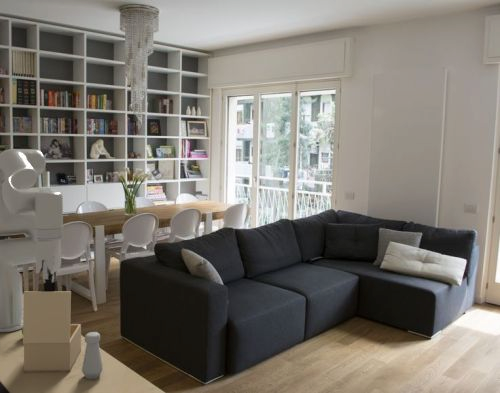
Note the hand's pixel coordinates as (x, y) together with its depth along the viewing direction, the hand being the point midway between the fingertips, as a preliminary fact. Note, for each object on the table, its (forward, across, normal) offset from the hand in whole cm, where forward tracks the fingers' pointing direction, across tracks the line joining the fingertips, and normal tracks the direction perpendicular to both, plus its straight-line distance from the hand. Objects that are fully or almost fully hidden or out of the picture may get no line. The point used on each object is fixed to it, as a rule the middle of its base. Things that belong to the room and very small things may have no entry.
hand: (50, 294), depth 144 cm
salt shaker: (+23, +6, +13) cm, 27 cm away
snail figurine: (+22, -22, -13) cm, 34 cm away
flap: (+6, +2, 0) cm, 6 cm away
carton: (+22, -4, -1) cm, 23 cm away
